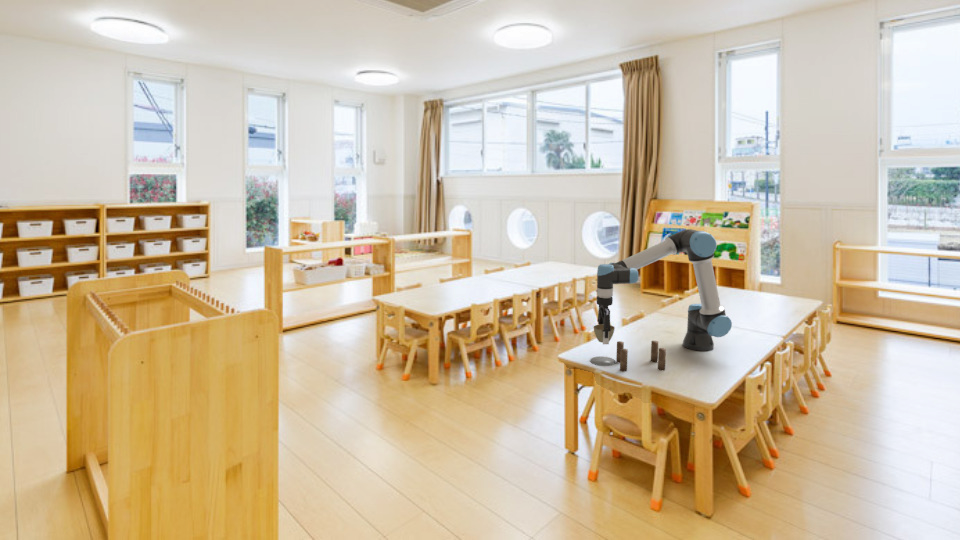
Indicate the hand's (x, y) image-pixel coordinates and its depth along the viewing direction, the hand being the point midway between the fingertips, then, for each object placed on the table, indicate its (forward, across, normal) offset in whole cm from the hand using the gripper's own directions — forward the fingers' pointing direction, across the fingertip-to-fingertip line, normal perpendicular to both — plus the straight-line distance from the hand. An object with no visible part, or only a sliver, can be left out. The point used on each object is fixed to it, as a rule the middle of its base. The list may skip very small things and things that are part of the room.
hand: (603, 340), depth 256 cm
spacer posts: (+11, +6, +16) cm, 20 cm away
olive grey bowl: (+1, 0, 0) cm, 1 cm away
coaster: (+11, 0, 0) cm, 11 cm away
